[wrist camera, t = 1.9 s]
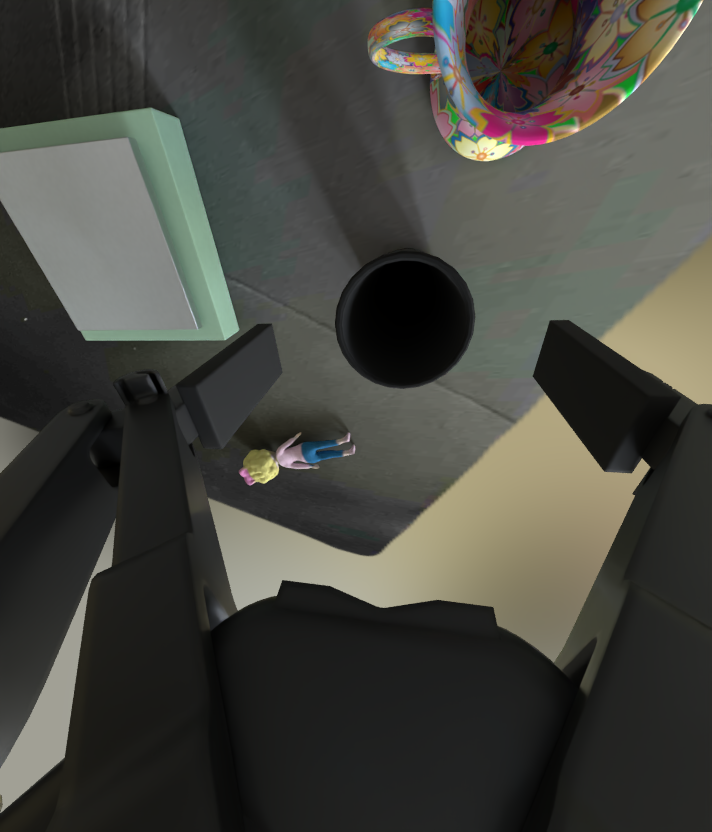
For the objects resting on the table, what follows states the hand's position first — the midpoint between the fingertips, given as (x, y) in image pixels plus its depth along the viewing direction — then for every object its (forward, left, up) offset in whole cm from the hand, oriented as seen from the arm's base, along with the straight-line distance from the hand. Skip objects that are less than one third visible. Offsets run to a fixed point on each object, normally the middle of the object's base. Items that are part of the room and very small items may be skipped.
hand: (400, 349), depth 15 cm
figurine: (+20, -13, -15) cm, 28 cm away
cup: (0, 0, -15) cm, 15 cm away
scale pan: (-4, -25, -11) cm, 28 cm away
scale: (-4, -25, -14) cm, 29 cm away
